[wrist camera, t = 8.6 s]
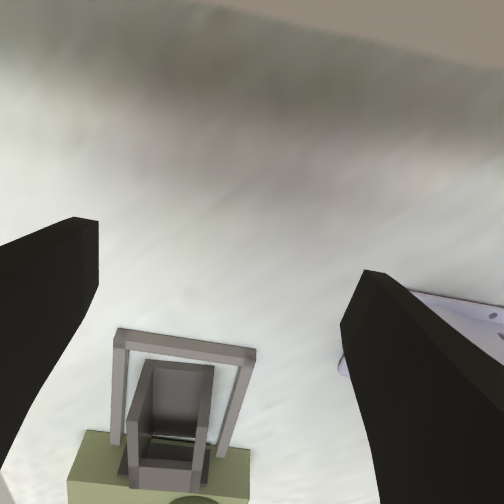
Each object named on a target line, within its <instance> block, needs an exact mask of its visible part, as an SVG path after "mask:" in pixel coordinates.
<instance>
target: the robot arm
mask: <svg viewBox="0 0 504 504" xmlns="http://www.w3.org/2000/svg"><path fill="white" fill-rule="evenodd" d="M98 285H99V221H95V220H90V219H84V218H79V217H71V218H68V219H65V220H63V221H60V222H57V223H55V224H52V225H50V226H48V227H45V228H43V229H41V230H38V231H36V232H33V233H31V234H29V235H26V236H24V237H21V238H19V239H16V240H14V241H12V242H9V243H7V244H4V245H2V246H0V469H1V467H2V465H3V463H4V461H5V458H6V456H7V454H8V452H9V450H10V448H11V446H12V444H13V442H14V439H15V437H16V435H17V433H18V431H19V429H20V427H21V425H22V423H23V421H24V419H25V417H26V415H27V413H28V411H29V409H30V407H31V405H32V403H33V401H34V400H35V398H36V396H37V394H38V393H39V391H40V389H41V387H42V386H43V384H44V383H45V381H46V379H47V378H48V376H49V375H50V373H51V371H52V370H53V368H54V366H55V365H56V363H57V362H58V360H59V358H60V357H61V355H62V354H63V352H64V350H65V349H66V347H67V345H68V344H69V342H70V341H71V339H72V337H73V336H74V334H75V332H76V331H77V329H78V327H79V326H80V324H81V322H82V321H83V319H84V317H85V315H86V313H87V311H88V309H89V306H90V304H91V302H92V300H93V297H94V295H95V293H96V290H97V288H98ZM491 313H492V314H491ZM340 329H341V338H342V345H343V351H344V357H343V359H342V361H341V363H340V365H339V367H338V370H339V373H340V374H341V375H343V376H349V377H350V378H351V382H352V385H353V389H354V392H355V395H356V399H357V402H358V405H359V409H360V412H361V416H362V419H363V422H364V426H365V429H366V433H367V437H368V441H369V445H370V449H371V453H372V459H373V464H374V469H375V475H376V480H377V485H378V491H379V497H380V503H381V504H504V308H500V307H495V306H489V305H484V304H478V303H473V302H467V301H462V300H456V299H451V298H445V297H440V296H435V295H429V294H424V293H418V292H413V291H408V290H407V289H406V288H405V287H403V286H402V285H401V284H400V283H398V282H397V281H396V280H394V279H393V278H392V277H390V276H389V275H387V274H386V273H381V272H376V271H370V270H365V269H364V271H363V274H362V276H361V278H360V280H359V283H358V285H357V287H356V289H355V291H354V294H353V296H352V298H351V300H350V303H349V305H348V307H347V309H346V311H345V314H344V316H343V318H342V320H341V322H340Z"/></svg>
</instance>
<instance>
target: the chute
mask: <svg viewBox="0 0 504 504" xmlns="http://www.w3.org/2000/svg"><path fill="white" fill-rule="evenodd" d="M213 376H214V366H211V365H201V364H191V363H181V362H171V361H161V360H150V359H145V363H144V366H143V369H142V372H141V375H140V378H139V382H138V385H137V388H136V391H135V394H134V397H133V400H132V404H131V407H130V410H129V413H128V416H127V419H126V430H127V452H128V474H129V489H140V490H155V491H169V492H183V493H198V494H199V487H200V480H201V473H202V466H203V459H204V452H205V446H206V439H207V432H208V424H209V414H210V404H211V395H212V385H213ZM152 435H164V436H176V437H189V438H195V446H194V455H193V462H189V461H176V460H163V459H150V458H147V454H148V450H149V446H150V442H151V438H152Z"/></svg>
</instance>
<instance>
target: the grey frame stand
mask: <svg viewBox="0 0 504 504" xmlns="http://www.w3.org/2000/svg"><path fill="white" fill-rule="evenodd" d="M129 350H134V351H141V352H148V353H155V354H161V355H168V356H175V357H181V358H188V359H195V360H202V361H208V362H215V363H222V364H229V365H235V366H239V370H238V373H237V376H236V380H235V383H234V387H233V390H232V393H231V397H230V400H229V404H228V407H227V411H226V414H225V417H224V421H223V424H222V428H221V431H220V434H219V438H218V441H217V445H216V446H213V445H206V446H205V452H204V459H203V466H202V473H201V480H200V487H199V494H198V493H183V492H169V491H155V490H140V489H129V474H128V452H127V435H123V430H124V415H125V400H126V385H127V370H128V355H129ZM255 362H256V349H250V348H243V347H237V346H230V345H224V344H217V343H211V342H204V341H198V340H191V339H185V338H179V337H172V336H166V335H159V334H153V333H146V332H140V331H133V330H127V329H120V328H118V330H117V332H116V334H115V336H114V339H113V367H112V396H111V424H110V433H106V432H98V431H90V430H87V431H86V434H85V436H84V439H83V441H82V443H81V446H80V448H79V451H78V453H77V456H76V458H75V461H74V463H73V466H72V468H71V470H70V473H69V475H68V478H67V493H68V504H248V502H249V500H250V450H246V449H238V448H230V447H228V446H229V443H230V440H231V437H232V433H233V430H234V427H235V424H236V421H237V418H238V415H239V412H240V409H241V406H242V403H243V399H244V396H245V393H246V390H247V387H248V384H249V381H250V378H251V375H252V372H253V369H254V365H255ZM194 446H195V443H189V442H181V441H172V440H164V439H156V438H151V442H150V446H149V450H148V454H147V458H150V459H163V460H176V461H189V462H193V455H194Z"/></svg>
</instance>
